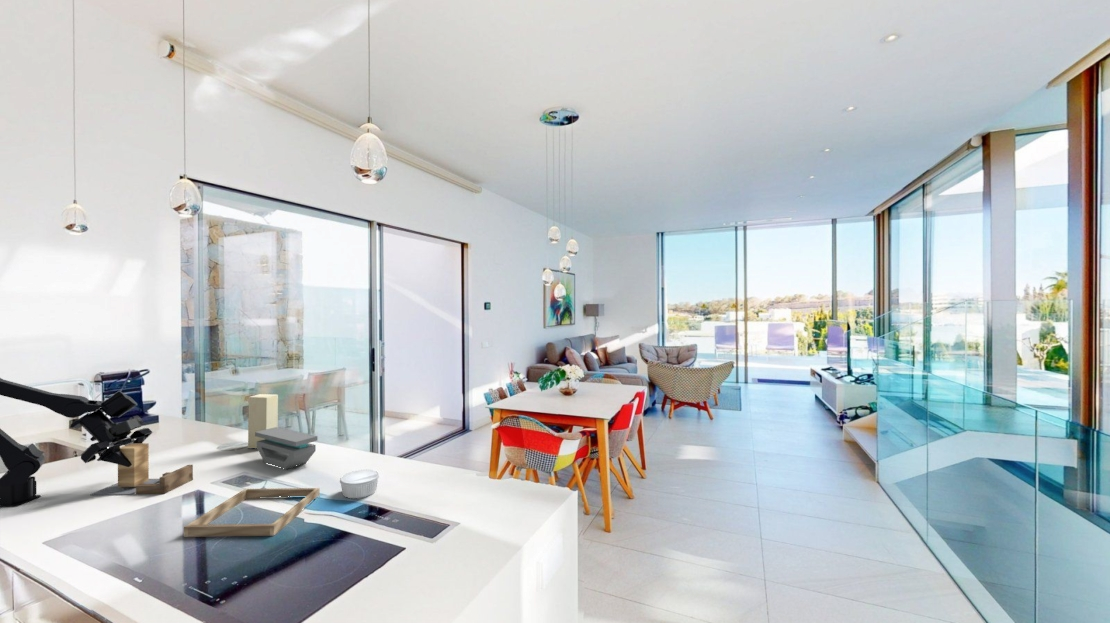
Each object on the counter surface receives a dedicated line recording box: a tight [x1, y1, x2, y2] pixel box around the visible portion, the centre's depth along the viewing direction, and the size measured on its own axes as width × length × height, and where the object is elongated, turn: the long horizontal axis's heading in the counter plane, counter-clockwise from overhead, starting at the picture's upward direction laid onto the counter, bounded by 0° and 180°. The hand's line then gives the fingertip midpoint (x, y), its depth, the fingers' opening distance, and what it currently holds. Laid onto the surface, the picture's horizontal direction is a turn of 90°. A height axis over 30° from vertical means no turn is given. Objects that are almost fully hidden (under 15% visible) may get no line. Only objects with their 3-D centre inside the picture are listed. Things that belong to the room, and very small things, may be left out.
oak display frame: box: [183, 487, 321, 538], centre depth 122 cm, size 23×22×2 cm
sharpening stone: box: [255, 426, 318, 470], centre depth 161 cm, size 25×8×11 cm, turn 62°
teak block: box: [117, 442, 150, 487], centre depth 140 cm, size 5×5×12 cm
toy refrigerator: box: [247, 393, 279, 448], centre depth 181 cm, size 8×7×21 cm
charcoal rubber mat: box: [89, 478, 160, 496], centre depth 140 cm, size 12×12×1 cm
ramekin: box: [339, 469, 380, 499], centre depth 137 cm, size 11×11×5 cm
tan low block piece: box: [135, 464, 194, 495], centre depth 140 cm, size 11×8×5 cm
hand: (138, 462), depth 140 cm, fingers closed on teak block, 5 cm apart
